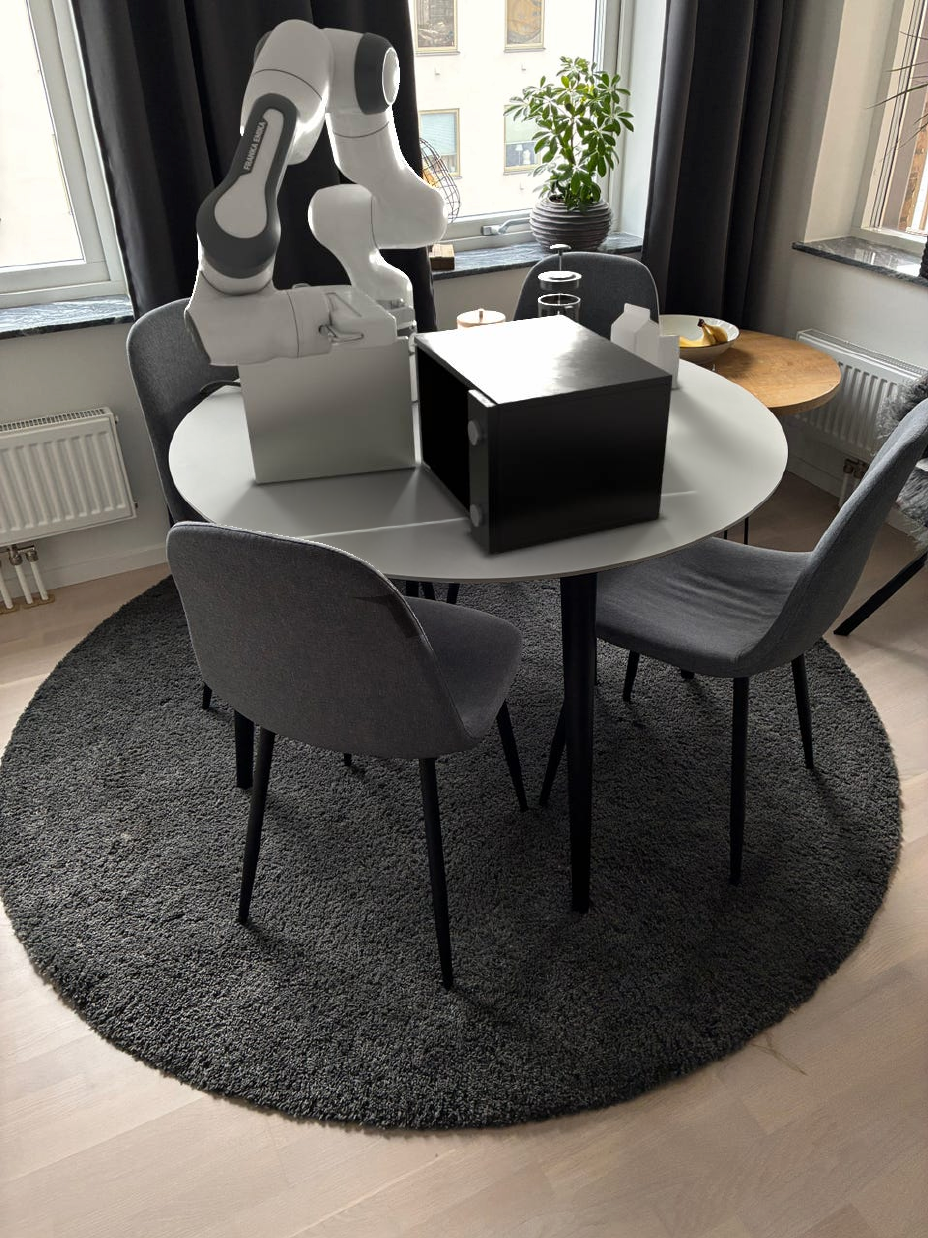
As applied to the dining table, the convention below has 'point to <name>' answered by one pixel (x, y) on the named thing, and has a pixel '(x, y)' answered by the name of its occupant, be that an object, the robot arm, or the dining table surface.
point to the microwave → (541, 429)
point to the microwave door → (330, 413)
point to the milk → (637, 333)
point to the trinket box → (479, 319)
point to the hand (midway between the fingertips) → (408, 309)
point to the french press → (559, 283)
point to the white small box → (669, 356)
